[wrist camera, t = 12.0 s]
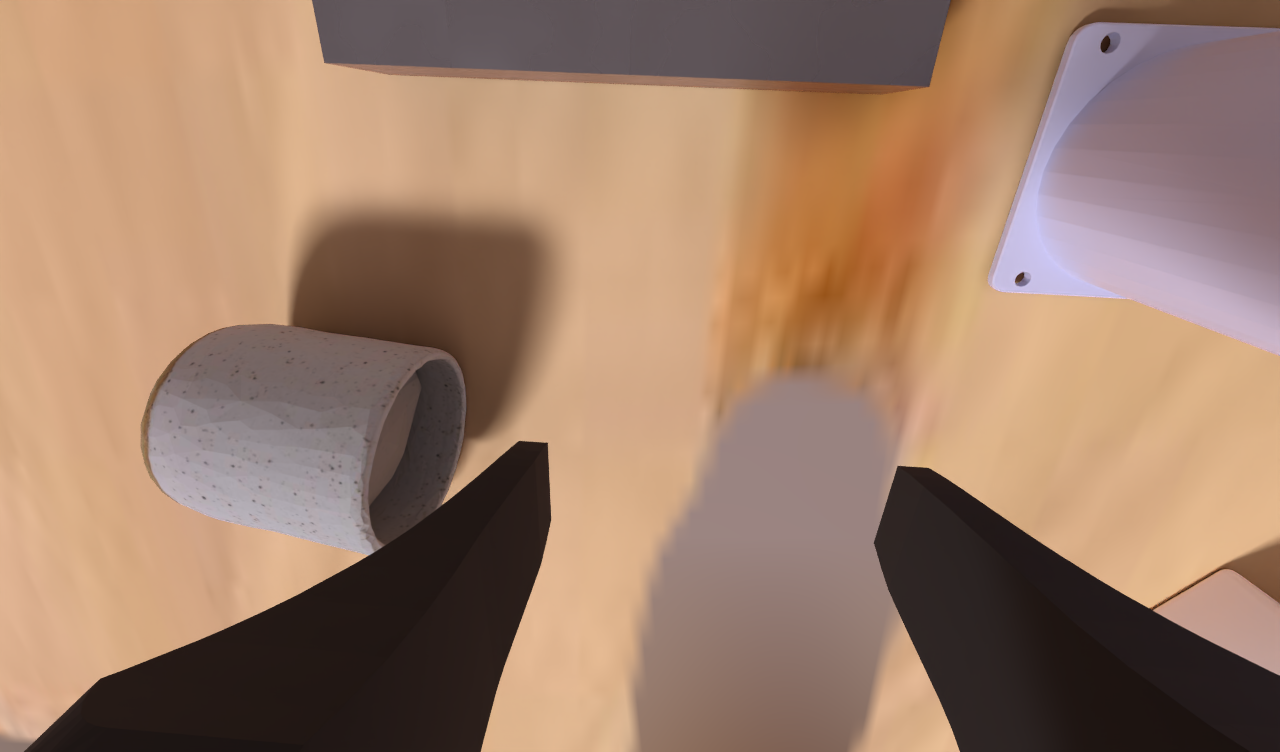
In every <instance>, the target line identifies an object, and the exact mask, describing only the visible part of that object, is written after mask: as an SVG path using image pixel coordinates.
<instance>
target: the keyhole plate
mask: <svg viewBox="0 0 1280 752" xmlns="http://www.w3.org/2000/svg"><path fill="white" fill-rule="evenodd" d="M950 1H951V0H312V2H313V7H314V12H315V17H316V22H317V27H318V32H319V37H320V43H321V48H322V53H323V58H324V63H328V64H333V65H339V66H344V67H350V68H355V69H361V70H366V71H372V72H377V73H383V74H388V75H410V76H435V77H460V78H485V79H510V80H534V81H559V82H584V83H609V84H634V85H659V86H684V87H708V88H733V89H758V90H783V91H808V92H833V93H858V94H887V93H893V92H899V91H906V90H912V89H918V88H925V87H929V85H930V81H931V77H932V73H933V69H934V65H935V61H936V57H937V53H938V49H939V45H940V41H941V37H942V33H943V29H944V25H945V21H946V17H947V13H948V9H949V5H950Z"/></svg>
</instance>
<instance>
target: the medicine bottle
mask: <svg viewBox="0 0 1280 752" xmlns="http://www.w3.org/2000/svg"><path fill="white" fill-rule="evenodd" d="M1153 611H1154V612H1156V613H1158V614H1160V615H1162V616H1163V617H1165V618H1167V619H1169V620H1171V621H1172V622H1174V623H1176V624H1178V625H1180V626H1182V627H1184V628H1185V629H1187V630H1189V631H1191V632H1193V633H1195V634H1197V635H1199V636H1201V637H1203V638H1205V639H1207V640H1208V641H1210V642H1212V643H1214V644H1216V645H1218V646H1221V647H1223V648H1225V649H1227V650H1229V651H1231V652H1233V653H1235V654H1237V655H1239V656H1241V657H1243V658H1245V659H1247V660H1249V661H1251V662H1253V663H1255V664H1257V665H1259V666H1261V667H1263V668H1265V669H1267V670H1269V671H1271V672H1273V673H1275V674H1278V675H1280V603H1278V602H1277V601H1276V600H1274V599H1273V598H1271V597H1270V596H1269V595H1267V594H1266V593H1265V592H1263V591H1262V590H1260V589H1259V588H1258V587H1256V586H1255V585H1254V584H1252V583H1251V582H1249V581H1248V580H1247V579H1245V578H1244V577H1243V576H1241V575H1240V574H1238V573H1237V572H1235V571H1233V570H1230V569H1222V570H1220V571H1218V572H1216V573H1214V574H1213V575H1211V576H1209V577H1208V578H1206V579H1204V580H1203V581H1201V582H1199V583H1198V584H1196V585H1194V586H1193V587H1191V588H1189V589H1187V590H1186V591H1184V592H1182V593H1181V594H1179V595H1177V596H1176V597H1174V598H1172V599H1171V600H1169V601H1167V602H1166V603H1164V604H1162V605H1160V606H1159V607H1157V608H1155V609H1154V610H1153Z"/></svg>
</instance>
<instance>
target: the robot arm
mask: <svg viewBox="0 0 1280 752" xmlns="http://www.w3.org/2000/svg"><path fill="white" fill-rule="evenodd" d="M1106 35H1108V36H1109V38H1110V46H1109V47H1108V49H1107V51H1105V52H1104V53H1103V52H1102V51H1101V49H1100V46H1101V42H1102V40H1103V38H1104V37H1105V36H1106ZM1021 272H1024V278H1023V279H1022V280H1021V281H1020V282H1018V283H1015V278H1016V277H1017V275H1018V274H1020V273H1021ZM988 283H989V285H990V286H991V287H992V288H993V289H995V290H997V291H1001V292H1013V293H1031V294H1049V295H1067V296H1085V297H1104V298H1122V299H1131V300H1134V301H1136V302H1139V303H1142V304H1144V305H1147V306H1150V307H1152V308H1155V309H1158V310H1160V311H1163V312H1165V313H1168V314H1171V315H1173V316H1176V317H1179V318H1181V319H1184V320H1186V321H1189V322H1192V323H1194V324H1197V325H1200V326H1202V327H1205V328H1208V329H1210V330H1213V331H1215V332H1218V333H1221V334H1223V335H1226V336H1229V337H1231V338H1234V339H1236V340H1239V341H1242V342H1244V343H1247V344H1250V345H1252V346H1255V347H1258V348H1260V349H1263V350H1265V351H1268V352H1271V353H1273V354H1276V355H1279V356H1280V28H1258V27H1228V26H1199V25H1170V24H1140V23H1111V22H1097V23H1091V24H1087V25H1084V26H1082V27H1080V28H1078V29H1077V30H1076V31H1075V32H1074V33H1073V34H1072V35H1071V36H1070V38H1069V40H1068V42H1067V45H1066V47H1065V50H1064V53H1063V56H1062V59H1061V62H1060V65H1059V68H1058V71H1057V74H1056V77H1055V80H1054V83H1053V86H1052V89H1051V92H1050V95H1049V98H1048V101H1047V104H1046V106H1045V109H1044V112H1043V115H1042V118H1041V121H1040V124H1039V127H1038V130H1037V133H1036V136H1035V139H1034V142H1033V145H1032V148H1031V151H1030V154H1029V157H1028V160H1027V162H1026V165H1025V168H1024V171H1023V174H1022V177H1021V180H1020V183H1019V186H1018V189H1017V192H1016V195H1015V198H1014V201H1013V204H1012V207H1011V210H1010V213H1009V216H1008V218H1007V221H1006V224H1005V227H1004V230H1003V233H1002V236H1001V239H1000V242H999V245H998V248H997V251H996V254H995V257H994V260H993V263H992V266H991V269H990V272H989V275H988ZM550 523H551V505H550V484H549V462H548V443H541V442H525V441H518V442H517V443H516V444H515V445H514V446H512V447H511V448H510V449H509V450H508V451H506V452H505V453H504V454H503V455H502V456H501V457H499V458H498V459H497V460H496V461H495V462H494V463H493V464H491V465H490V466H489V467H488V468H487V469H486V470H485V471H483V472H482V473H481V474H480V475H479V476H478V477H476V478H475V479H474V480H473V481H472V482H470V483H469V484H468V485H467V486H466V487H464V488H463V489H462V490H461V491H459V492H458V493H457V494H456V495H455V496H453V497H452V498H451V499H450V500H448V501H447V502H446V503H444V504H443V505H442V506H440V507H439V508H438V509H436V510H435V511H434V512H432V513H431V514H430V515H428V516H427V517H426V518H424V519H423V520H422V521H420V522H419V523H418V524H416V525H415V526H414V527H412V528H411V529H409V530H408V531H406V532H405V533H403V534H402V535H400V536H399V537H397V538H396V539H394V540H393V541H391V542H390V543H388V544H386V545H385V546H383V547H382V548H380V549H378V550H377V551H375V552H374V553H372V554H370V555H369V556H367V557H366V558H364V559H362V560H361V561H359V562H357V563H356V564H354V565H352V566H350V567H348V568H346V569H345V570H343V571H341V572H339V573H337V574H335V575H334V576H332V577H330V578H328V579H326V580H324V581H323V582H321V583H319V584H317V585H315V586H313V587H311V588H310V589H308V590H306V591H304V592H302V593H300V594H298V595H296V596H294V597H292V598H291V599H288V600H286V601H284V602H282V603H280V604H278V605H276V606H274V607H272V608H270V609H268V610H266V611H264V612H262V613H259V614H257V615H255V616H253V617H251V618H248V619H246V620H244V621H242V622H240V623H237V624H235V625H233V626H231V627H228V628H226V629H224V630H222V631H219V632H217V633H215V634H212V635H210V636H208V637H205V638H203V639H201V640H198V641H196V642H193V643H191V644H188V645H186V646H183V647H181V648H178V649H176V650H173V651H171V652H168V653H166V654H163V655H161V656H158V657H155V658H153V659H150V660H148V661H145V662H143V663H140V664H138V665H135V666H133V667H130V668H128V669H125V670H123V671H120V672H117V673H115V674H112V675H109V676H106V677H104V678H101V679H100V680H99V681H97V682H96V683H95V684H94V685H93V686H92V687H91V688H90V689H89V690H88V691H87V692H86V693H85V694H84V695H83V696H82V697H80V698H79V699H78V700H77V701H76V702H75V703H74V704H73V705H72V706H71V707H70V708H69V709H68V710H67V711H66V712H65V713H64V714H63V715H62V716H61V717H60V718H59V719H58V720H57V721H55V722H54V723H53V724H52V725H51V726H50V727H49V728H48V729H47V730H46V731H45V732H44V733H43V734H42V735H41V736H40V737H39V738H38V739H37V740H36V741H35V742H34V743H33V744H32V745H31V746H29V747H28V748H27V749H26V750H25V751H24V752H481V748H482V744H483V740H484V736H485V732H486V729H487V725H488V721H489V717H490V713H491V710H492V706H493V702H494V698H495V694H496V691H497V687H498V684H499V681H500V678H501V675H502V672H503V668H504V665H505V663H506V660H507V657H508V654H509V652H510V649H511V646H512V643H513V641H514V638H515V635H516V632H517V630H518V627H519V624H520V621H521V619H522V616H523V613H524V610H525V608H526V605H527V602H528V599H529V597H530V594H531V591H532V588H533V585H534V583H535V580H536V577H537V574H538V571H539V568H540V565H541V562H542V558H543V554H544V550H545V545H546V541H547V536H548V532H549V527H550ZM874 544H875V548H876V551H877V555H878V558H879V562H880V565H881V569H882V572H883V574H884V578H885V581H886V584H887V587H888V590H889V592H890V594H891V596H892V599H893V601H894V603H895V605H896V608H897V610H898V612H899V614H900V616H901V619H902V621H903V623H904V625H905V627H906V629H907V632H908V634H909V636H910V638H911V640H912V642H913V644H914V646H915V649H916V651H917V653H918V655H919V657H920V659H921V661H922V663H923V666H924V668H925V670H926V672H927V674H928V676H929V678H930V681H931V683H932V685H933V687H934V689H935V691H936V693H937V695H938V698H939V700H940V702H941V704H942V707H943V709H944V711H945V714H946V716H947V719H948V721H949V723H950V726H951V728H952V731H953V733H954V736H955V739H956V742H957V745H958V747H959V750H960V752H1280V675H1278V674H1275V673H1273V672H1271V671H1269V670H1267V669H1265V668H1263V667H1261V666H1259V665H1257V664H1255V663H1253V662H1251V661H1249V660H1247V659H1245V658H1243V657H1241V656H1239V655H1237V654H1235V653H1233V652H1231V651H1229V650H1227V649H1225V648H1223V647H1221V646H1218V645H1216V644H1214V643H1212V642H1210V641H1208V640H1207V639H1205V638H1203V637H1201V636H1199V635H1197V634H1195V633H1193V632H1191V631H1189V630H1187V629H1185V628H1184V627H1182V626H1180V625H1178V624H1176V623H1174V622H1172V621H1171V620H1169V619H1167V618H1165V617H1163V616H1162V615H1160V614H1158V613H1156V612H1154V611H1153V610H1151V609H1149V608H1147V607H1145V606H1144V605H1142V604H1140V603H1138V602H1136V601H1135V600H1133V599H1131V598H1129V597H1127V596H1126V595H1124V594H1122V593H1120V592H1119V591H1117V590H1115V589H1114V588H1112V587H1110V586H1109V585H1107V584H1105V583H1104V582H1102V581H1100V580H1099V579H1097V578H1095V577H1094V576H1092V575H1091V574H1089V573H1087V572H1086V571H1084V570H1083V569H1081V568H1079V567H1078V566H1076V565H1075V564H1073V563H1071V562H1070V561H1068V560H1067V559H1065V558H1063V557H1062V556H1060V555H1059V554H1057V553H1055V552H1054V551H1052V550H1051V549H1049V548H1048V547H1046V546H1045V545H1043V544H1042V543H1040V542H1039V541H1037V540H1036V539H1034V538H1033V537H1031V536H1030V535H1028V534H1027V533H1025V532H1024V531H1022V530H1021V529H1019V528H1018V527H1016V526H1015V525H1013V524H1012V523H1010V522H1009V521H1008V520H1006V519H1005V518H1003V517H1002V516H1000V515H999V514H997V513H996V512H994V511H993V510H992V509H990V508H989V507H987V506H986V505H984V504H983V503H981V502H980V501H979V500H977V499H976V498H974V497H973V496H971V495H970V494H968V493H967V492H965V491H964V490H963V489H961V488H960V487H958V486H957V485H955V484H954V483H952V482H951V481H949V480H947V479H946V478H944V477H943V476H941V475H940V474H938V473H936V472H934V471H933V470H931V469H929V468H921V467H906V466H898V467H897V470H896V473H895V477H894V480H893V483H892V486H891V489H890V493H889V496H888V499H887V502H886V506H885V509H884V512H883V515H882V518H881V522H880V525H879V528H878V531H877V535H876V538H875V541H874Z"/></svg>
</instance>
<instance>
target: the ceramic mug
mask: <svg viewBox="0 0 1280 752" xmlns="http://www.w3.org/2000/svg"><path fill="white" fill-rule="evenodd" d="M465 416H466V391H465V383H464V377H463V373H462V370H461V368H460V367H459V365H458V363H457V361H456V359H455V358H454V357H453V356H452V355H450V354H449V353H447V352H445V351H443V350H440V349H437V348H432V347H424V346H416V345H410V344H403V343H397V342H391V341H384V340H378V339H372V338H365V337H357V336H350V335H343V334H335V333H327V332H322V331H317V330H312V329H307V328H302V327H294V326H284V325H275V324H257V325H237V326H232V327H226V328H222V329H219V330H216V331H214V332H211V333H208V334H207V335H205V336H203V337H202V338H200V339H198V340H196V341H195V342H193V343H191V344H190V345H189V346H188V347H187V348H185V349H184V350H183V351H182V352H181V353H180V354H179V355H178V356H177V357H176V358H175V359H174V360H172V361H171V363H170V364H169V365H168V367H167V368H166V369H165V371H164V372H163V373H162V375H161V376H160V377H159V379H158V380H157V382H156V384H155V386H154V388H153V389H152V391H151V393H150V396H149V399H148V403H147V406H146V409H145V412H144V416H143V419H142V422H141V450H142V454H143V459H144V463H145V466H146V468H147V471H148V473H149V476H150V478H151V479H152V480H153V481H154V483H155V484H156V485H157V486H158V487H159V489H160V490H161V491H162V492H163V493H164V494H166V495H167V496H169V497H170V498H171V499H173V500H174V501H176V502H177V503H179V504H182V505H184V506H186V507H188V508H191V509H193V510H195V511H197V512H200V513H202V514H204V515H206V516H209V517H212V518H215V519H218V520H222V521H226V522H230V523H234V524H239V525H243V526H248V527H253V528H258V529H264V530H269V531H274V532H278V533H282V534H286V535H290V536H294V537H297V538H301V539H305V540H309V541H313V542H317V543H321V544H325V545H329V546H333V547H338V548H342V549H346V550H350V551H354V552H358V553H362V554H366V555H370V554H372V553H374V552H375V551H377V550H378V549H380V548H382V547H383V546H385V545H386V544H388V543H390V542H391V541H393V540H394V539H396V538H397V537H399V536H400V535H402V534H403V533H405V532H406V531H408V530H409V529H411V528H412V527H414V526H415V525H416V524H418V523H419V522H420V521H422V520H423V519H424V518H426V517H427V516H428V515H430V514H431V513H432V512H434V511H435V510H436V509H438V508H439V507H440V506H441V505H442V503H443V500H444V498H445V496H446V494H447V492H448V490H449V487H450V484H451V481H452V478H453V475H454V472H455V470H456V467H457V462H458V458H459V455H460V451H461V447H462V443H463V438H464V427H465Z"/></svg>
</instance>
